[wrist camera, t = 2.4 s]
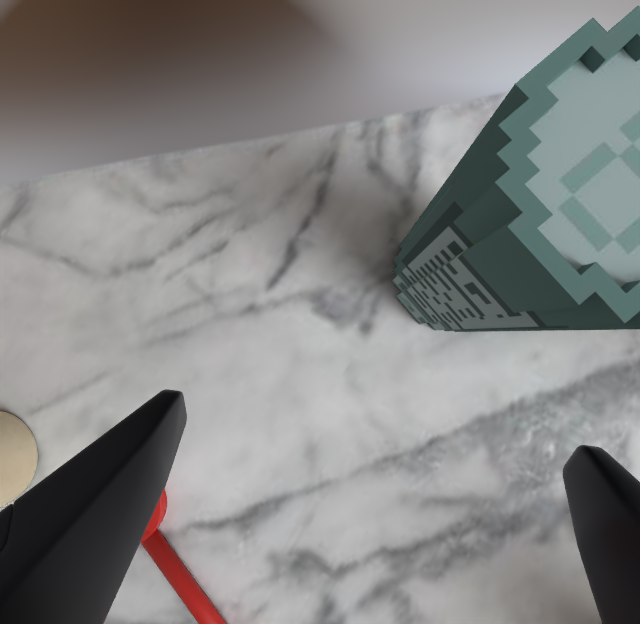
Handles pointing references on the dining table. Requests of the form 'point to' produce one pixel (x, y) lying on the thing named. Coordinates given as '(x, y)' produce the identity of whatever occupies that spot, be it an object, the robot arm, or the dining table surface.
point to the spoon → (177, 569)
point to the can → (541, 202)
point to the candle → (15, 457)
